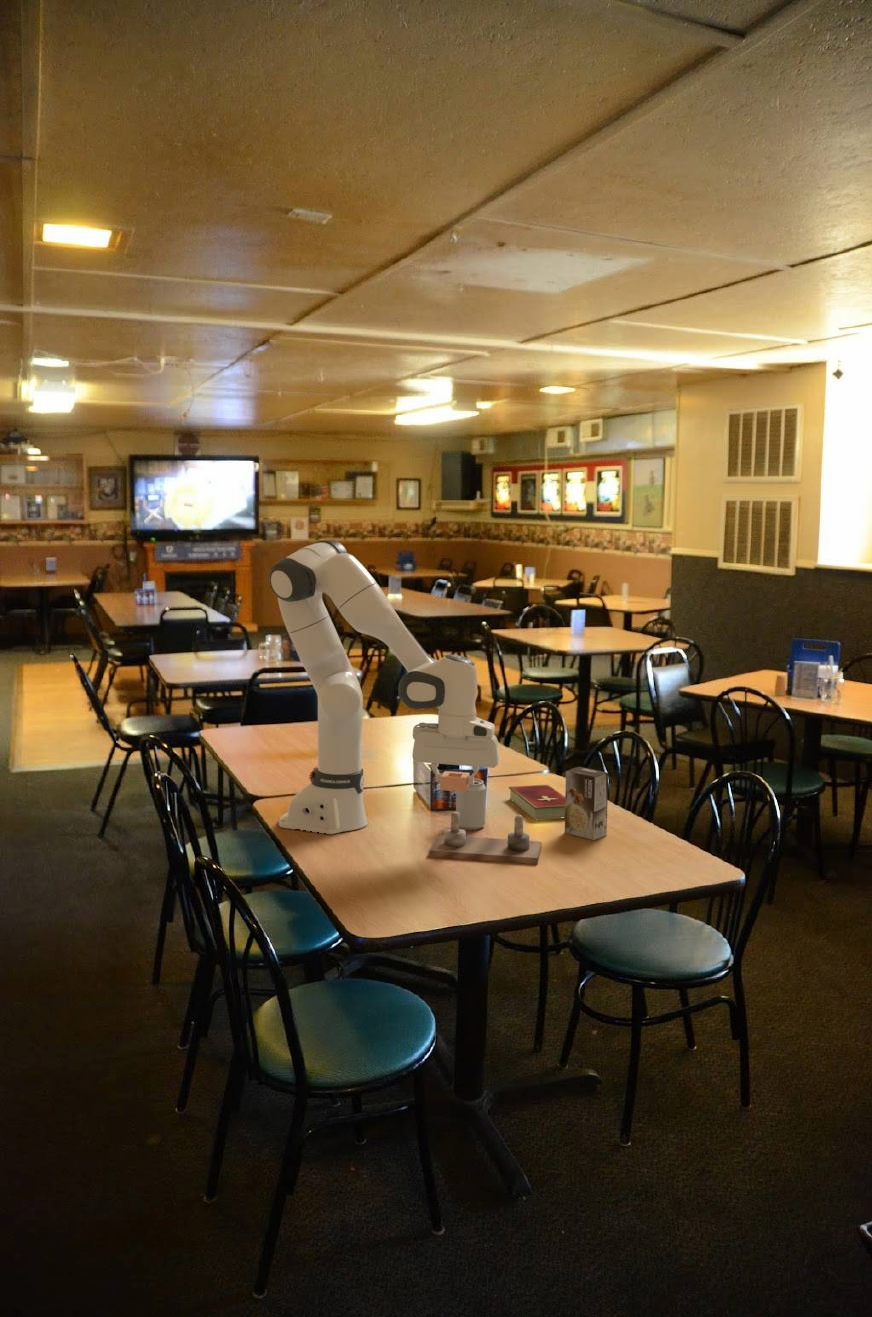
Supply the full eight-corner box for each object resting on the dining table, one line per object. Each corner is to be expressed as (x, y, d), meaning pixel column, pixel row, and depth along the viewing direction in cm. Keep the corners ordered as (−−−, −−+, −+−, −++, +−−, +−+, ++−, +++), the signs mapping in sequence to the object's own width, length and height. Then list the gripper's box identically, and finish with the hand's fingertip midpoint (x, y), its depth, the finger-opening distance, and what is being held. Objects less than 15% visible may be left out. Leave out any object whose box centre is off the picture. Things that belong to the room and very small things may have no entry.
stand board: (429, 856, 233) (429, 817, 232) (438, 840, 245) (438, 802, 243) (537, 864, 229) (538, 824, 227) (541, 847, 240) (542, 809, 239)
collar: (440, 790, 234) (440, 777, 233) (444, 783, 240) (444, 771, 239) (465, 791, 233) (465, 779, 232) (469, 785, 239) (469, 772, 238)
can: (482, 832, 252) (483, 785, 250) (453, 829, 253) (454, 783, 252) (487, 823, 259) (488, 777, 257) (458, 821, 261) (459, 776, 259)
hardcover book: (548, 797, 285) (549, 783, 284) (577, 819, 265) (577, 803, 264) (508, 800, 282) (508, 785, 281) (534, 822, 262) (534, 806, 261)
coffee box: (608, 835, 250) (610, 772, 248) (593, 841, 246) (595, 777, 244) (577, 827, 257) (579, 765, 254) (562, 832, 252) (564, 770, 250)
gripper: (410, 724, 233) (408, 782, 234) (498, 730, 229) (495, 789, 231) (415, 719, 239) (413, 776, 241) (501, 725, 235) (498, 782, 237)
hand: (454, 782), depth 236 cm, fingers closed on collar, 6 cm apart
